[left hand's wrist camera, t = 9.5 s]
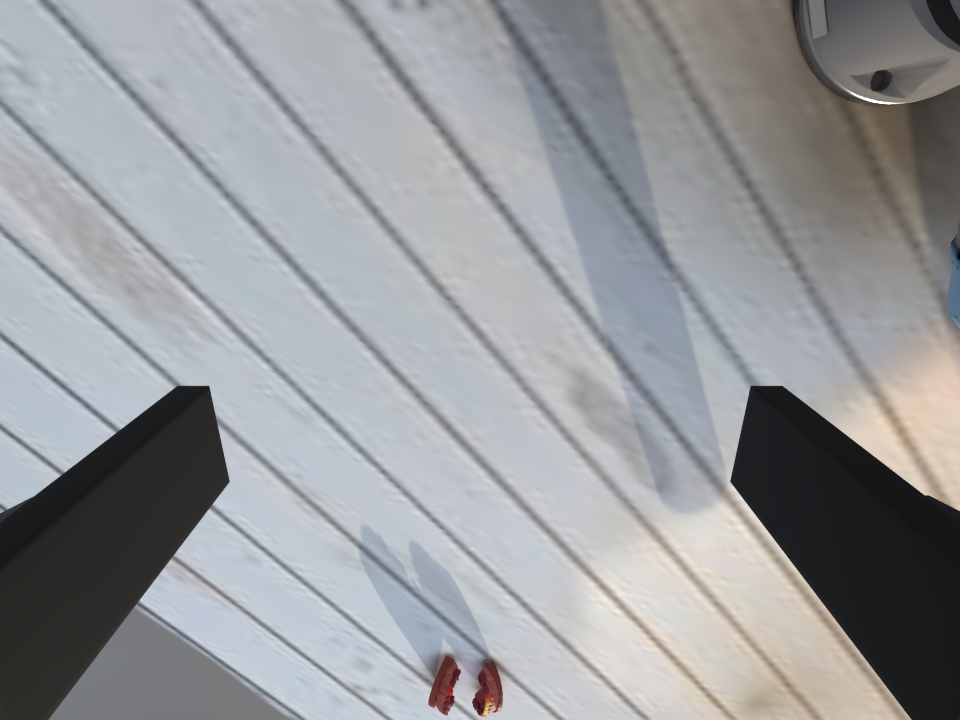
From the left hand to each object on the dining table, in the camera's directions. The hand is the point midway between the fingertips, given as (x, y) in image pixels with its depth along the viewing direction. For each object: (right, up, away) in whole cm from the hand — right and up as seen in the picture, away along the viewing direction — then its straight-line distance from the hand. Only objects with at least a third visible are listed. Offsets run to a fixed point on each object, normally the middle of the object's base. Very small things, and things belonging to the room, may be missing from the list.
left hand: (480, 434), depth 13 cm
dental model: (-2, -34, +46) cm, 57 cm away
